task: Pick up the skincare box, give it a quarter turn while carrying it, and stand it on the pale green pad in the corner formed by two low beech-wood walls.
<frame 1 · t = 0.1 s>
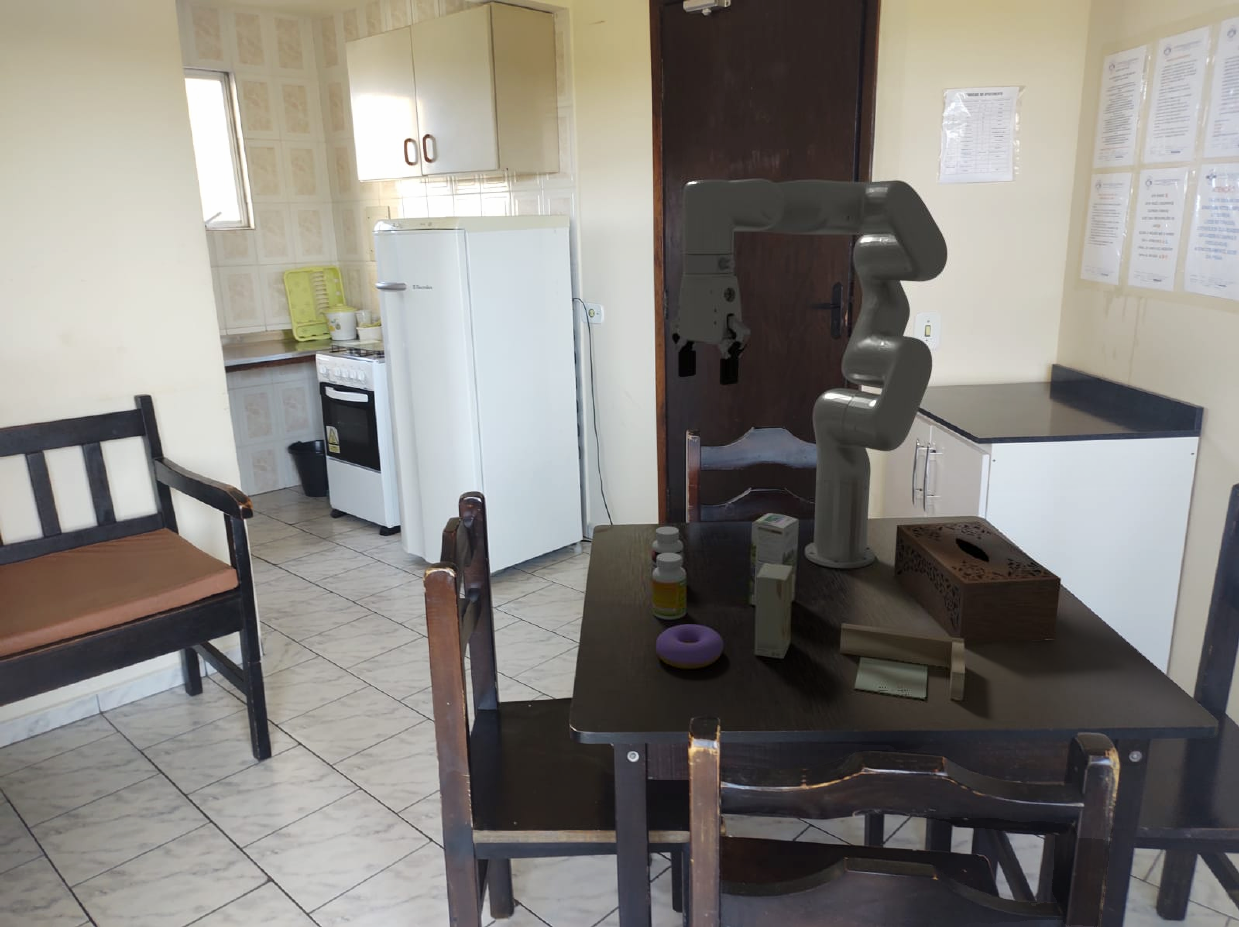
hand: (707, 380, 135), 37 cm above the table, tool pointing down, fingers open, 9 cm apart
donut: (689, 658, 127), on the table
pill bottle: (667, 583, 153), on the table
supplement bottle: (669, 614, 141), on the table
tissue box cover: (966, 608, 141), on the table
skincare box: (772, 649, 129), on the table
syrup box: (772, 603, 144), on the table
corner arena: (891, 678, 119), on the table
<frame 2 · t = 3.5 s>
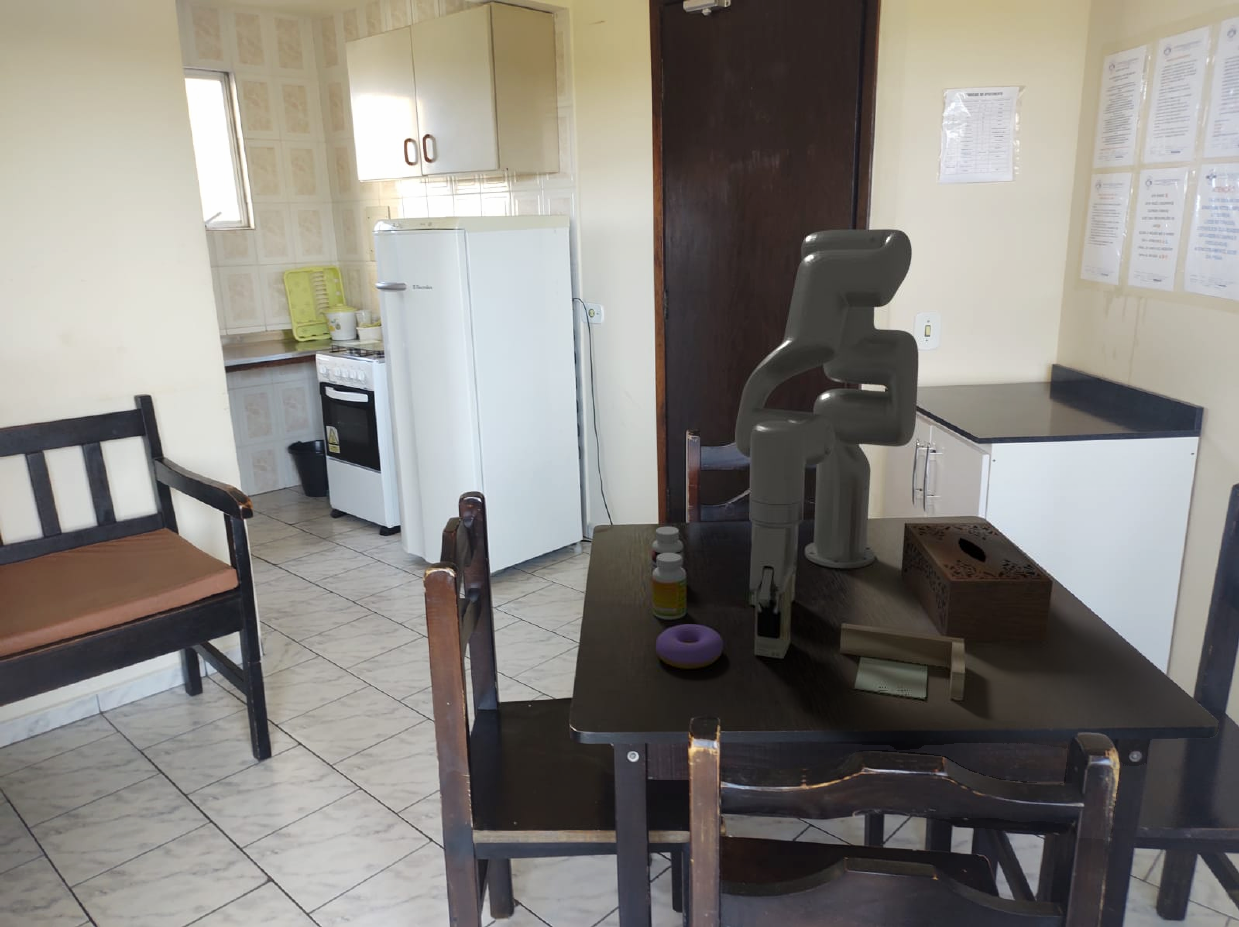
hand: (773, 625, 128), 4 cm above the table, tool pointing down, fingers closed on skincare box, 6 cm apart
skincare box: (772, 649, 129), on the table, touching gripper
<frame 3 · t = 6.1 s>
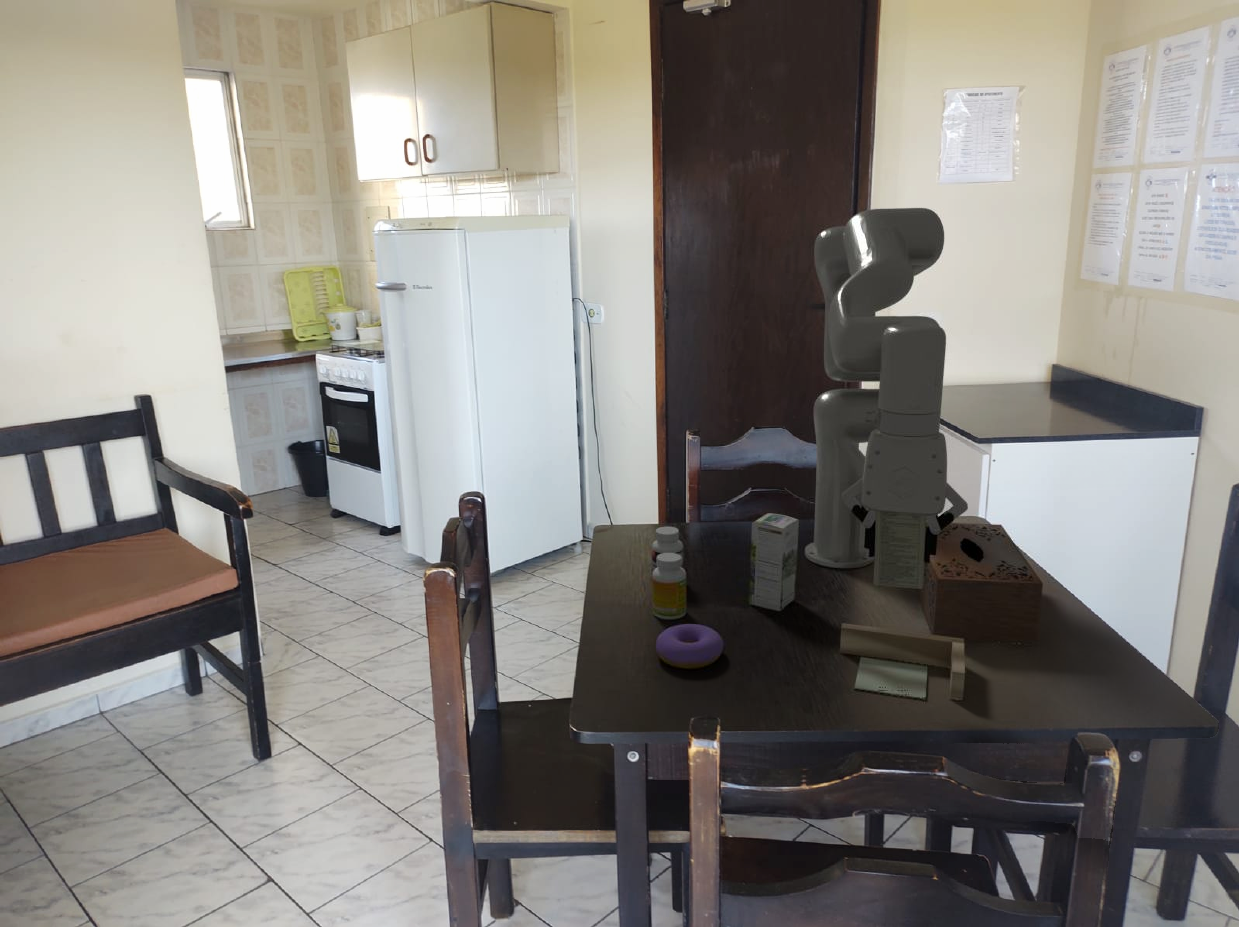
hand: (899, 555, 115), 18 cm above the table, tool pointing down, fingers closed on skincare box, 6 cm apart
skincare box: (897, 582, 116), point 14 cm above the table, touching gripper
when the fingers open (5 cm above the table, at t = 8.8 s): skincare box drops 1 cm, resting on corner arena.
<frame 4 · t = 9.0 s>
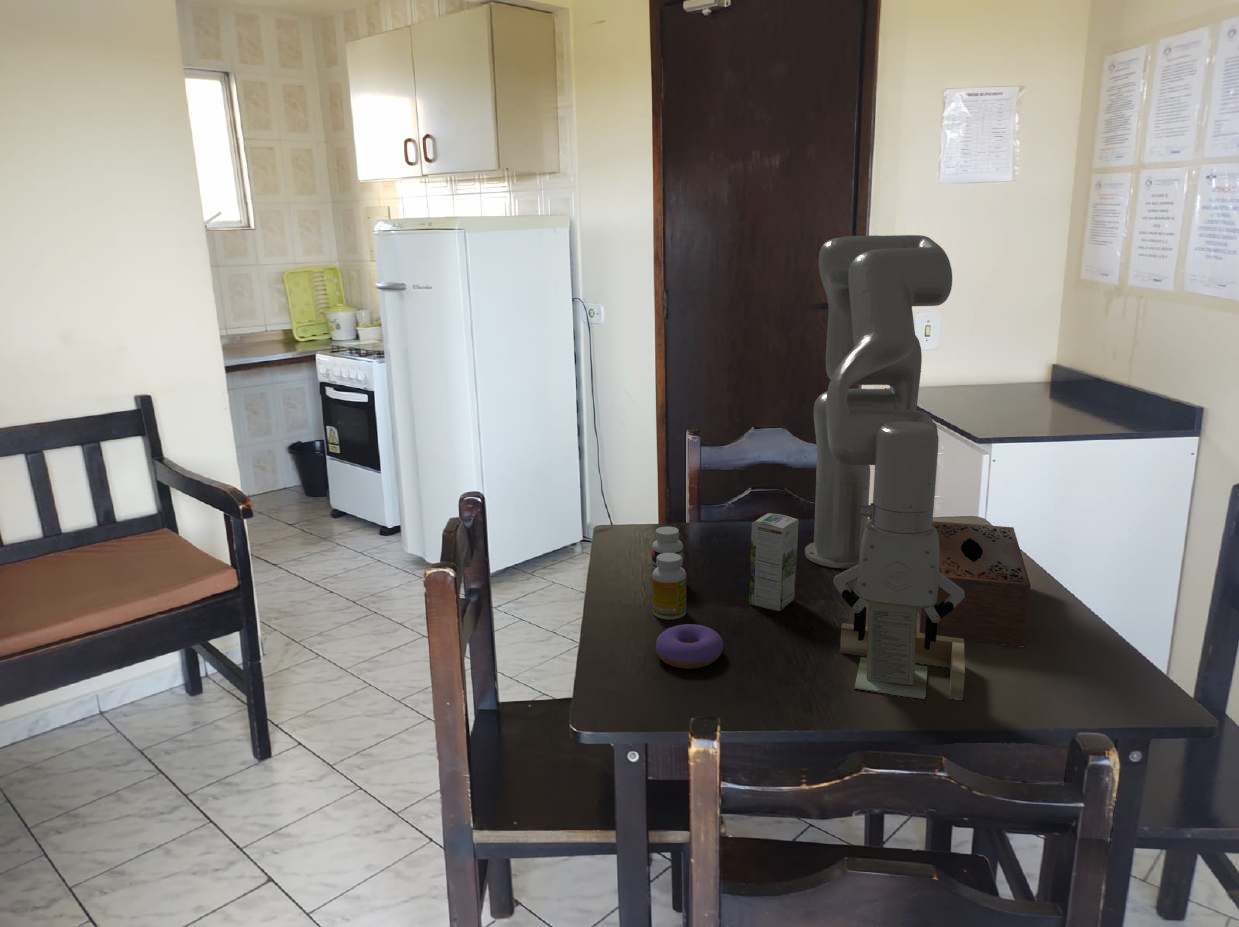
hand: (894, 640, 118), 6 cm above the table, tool pointing down, fingers open, 8 cm apart
skincare box: (889, 677, 120), resting on corner arena
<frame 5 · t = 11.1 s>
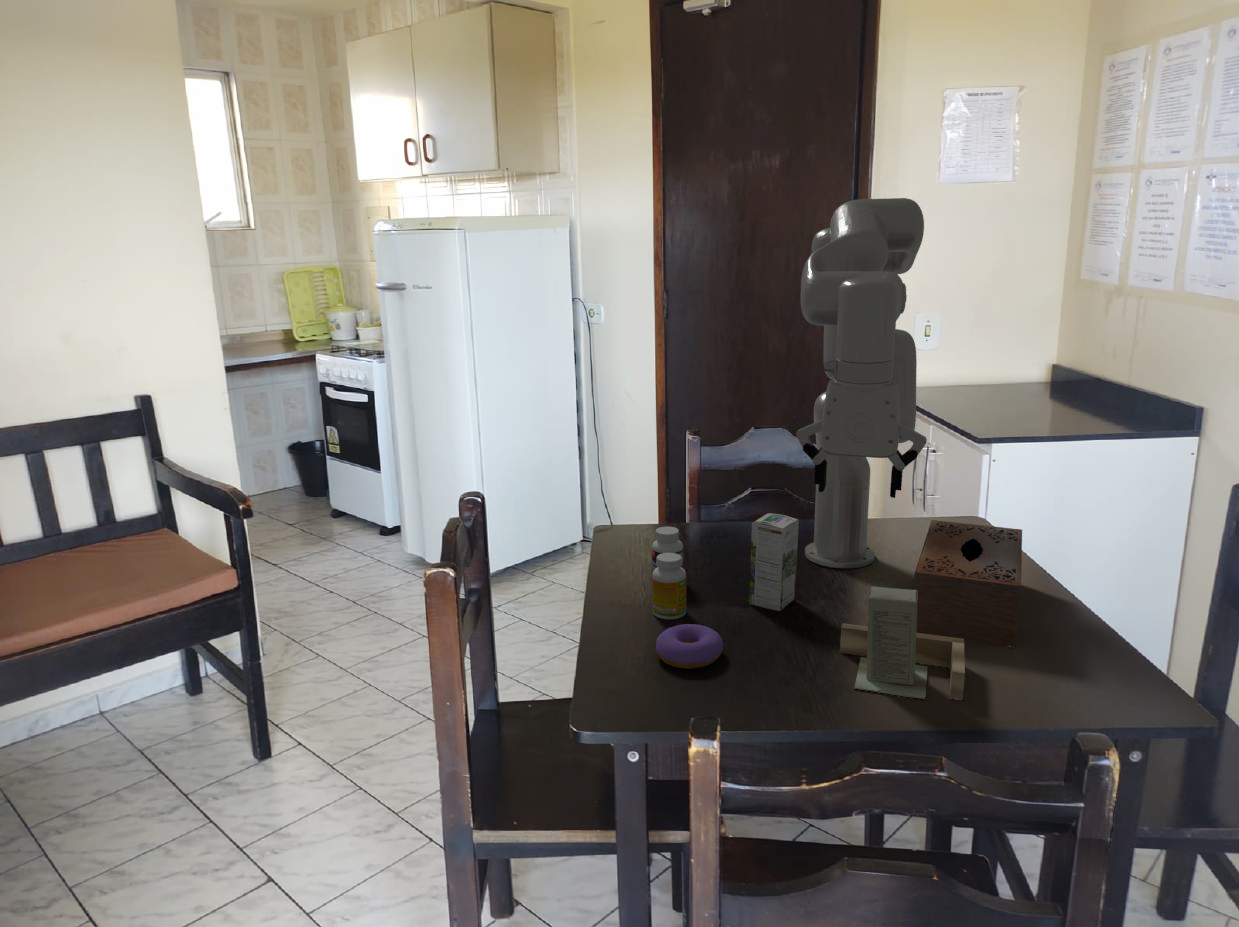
hand: (857, 491, 123), 24 cm above the table, tool pointing down, fingers open, 9 cm apart
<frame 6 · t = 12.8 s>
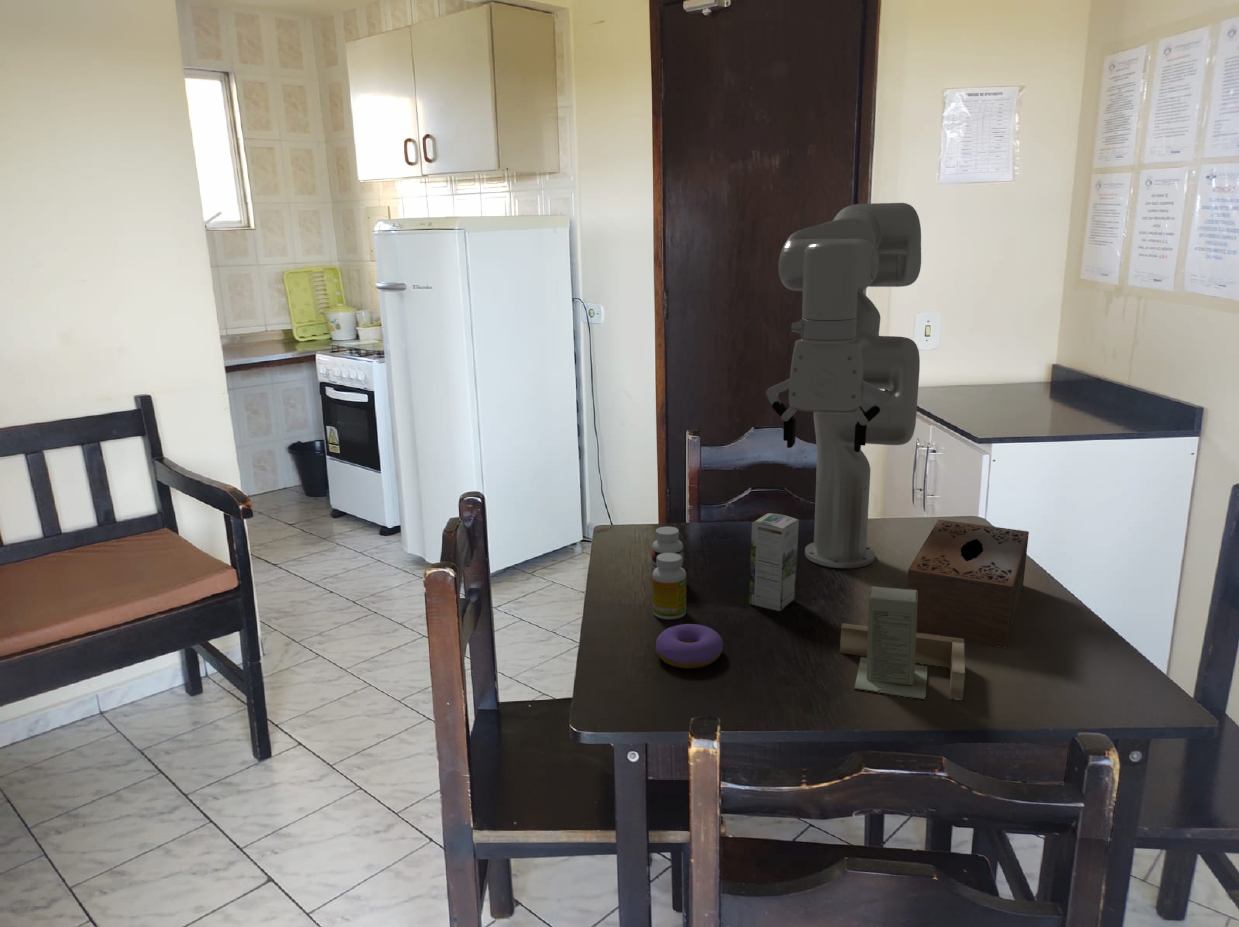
hand: (823, 447, 129), 28 cm above the table, tool pointing down, fingers open, 9 cm apart
at the end: skincare box inside the target area (0.3 cm from its centre), resting on corner arena; skincare box tilted 0°; the gripper is holding nothing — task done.
